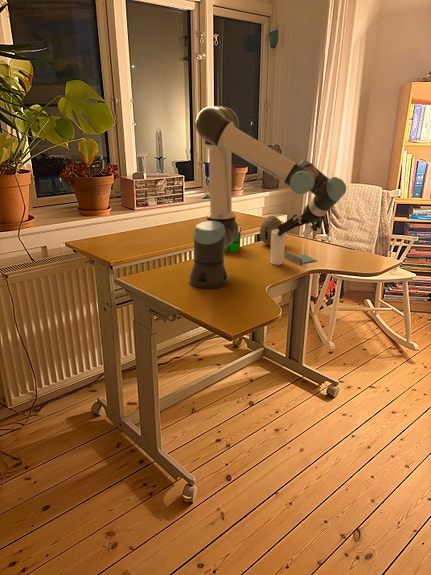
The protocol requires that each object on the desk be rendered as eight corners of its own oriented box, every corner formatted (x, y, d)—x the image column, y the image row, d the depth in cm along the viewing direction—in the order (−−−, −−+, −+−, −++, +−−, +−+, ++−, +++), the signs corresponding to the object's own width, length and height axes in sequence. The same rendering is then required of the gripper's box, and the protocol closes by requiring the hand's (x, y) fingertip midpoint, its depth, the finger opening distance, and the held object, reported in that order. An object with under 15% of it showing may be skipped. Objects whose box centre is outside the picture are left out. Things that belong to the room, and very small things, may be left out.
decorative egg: (276, 249, 216) (278, 220, 210) (255, 245, 221) (256, 216, 215) (285, 244, 225) (288, 215, 219) (265, 240, 230) (267, 212, 225)
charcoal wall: (299, 265, 195) (300, 258, 194) (284, 257, 205) (285, 251, 204) (301, 264, 196) (302, 258, 194) (286, 256, 206) (287, 250, 204)
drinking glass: (276, 266, 192) (278, 233, 187) (265, 262, 197) (268, 230, 192) (287, 264, 196) (290, 231, 190) (276, 260, 201) (279, 228, 195)
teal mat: (300, 263, 197) (300, 262, 197) (289, 257, 204) (289, 256, 204) (316, 261, 201) (316, 260, 201) (304, 255, 208) (305, 254, 208)
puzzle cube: (240, 246, 219) (240, 227, 215) (239, 252, 210) (240, 232, 206) (220, 245, 220) (220, 226, 216) (218, 251, 211) (218, 231, 207)
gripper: (292, 220, 161) (268, 247, 179) (345, 214, 171) (317, 241, 189) (285, 202, 163) (262, 232, 181) (338, 198, 173) (311, 226, 191)
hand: (290, 237), depth 185 cm, fingers open, 13 cm apart
